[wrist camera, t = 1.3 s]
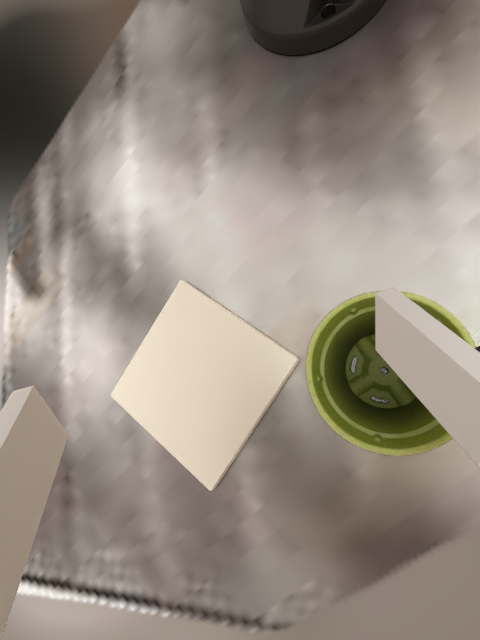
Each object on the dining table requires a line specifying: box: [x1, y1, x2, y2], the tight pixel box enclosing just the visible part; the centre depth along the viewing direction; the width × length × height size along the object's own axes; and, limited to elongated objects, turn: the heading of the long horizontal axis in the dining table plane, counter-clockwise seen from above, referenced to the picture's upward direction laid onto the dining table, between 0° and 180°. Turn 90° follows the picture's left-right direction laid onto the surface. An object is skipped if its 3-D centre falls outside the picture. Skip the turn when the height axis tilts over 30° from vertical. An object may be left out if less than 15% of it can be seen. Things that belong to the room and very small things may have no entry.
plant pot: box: [306, 291, 476, 456], centre depth 24 cm, size 9×9×9 cm
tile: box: [110, 280, 300, 491], centre depth 33 cm, size 14×14×1 cm
